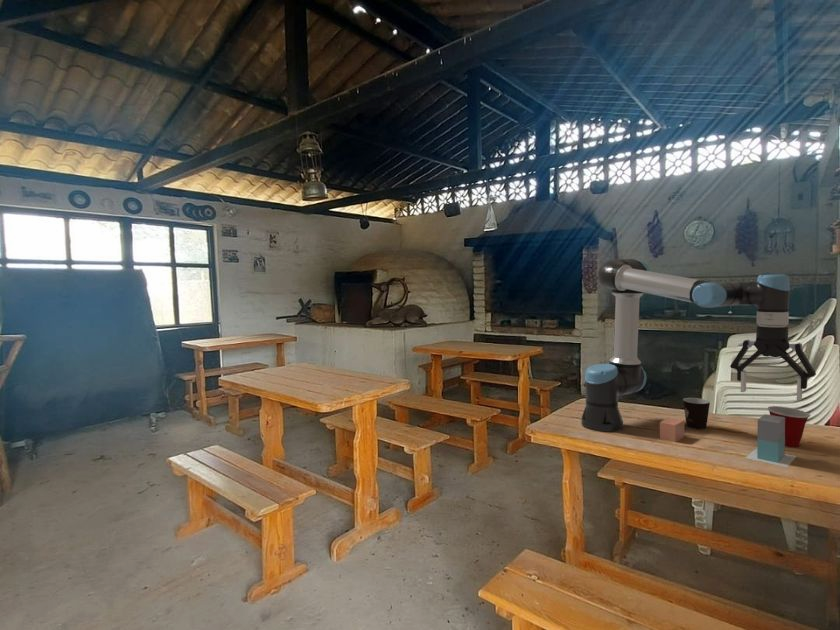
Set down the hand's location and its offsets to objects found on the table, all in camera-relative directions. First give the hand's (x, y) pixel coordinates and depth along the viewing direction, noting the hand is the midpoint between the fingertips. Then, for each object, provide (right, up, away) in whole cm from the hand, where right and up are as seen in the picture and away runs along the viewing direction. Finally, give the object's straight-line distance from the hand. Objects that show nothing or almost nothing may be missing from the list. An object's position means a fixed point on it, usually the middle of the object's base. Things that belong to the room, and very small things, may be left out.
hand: (770, 395), depth 134 cm
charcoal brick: (+1, -13, 0) cm, 13 cm away
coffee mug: (-1, -18, +34) cm, 39 cm away
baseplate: (+1, -20, +1) cm, 20 cm away
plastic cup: (+15, -19, +11) cm, 26 cm away
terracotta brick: (-17, -19, +22) cm, 34 cm away
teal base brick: (+1, -19, +1) cm, 19 cm away
